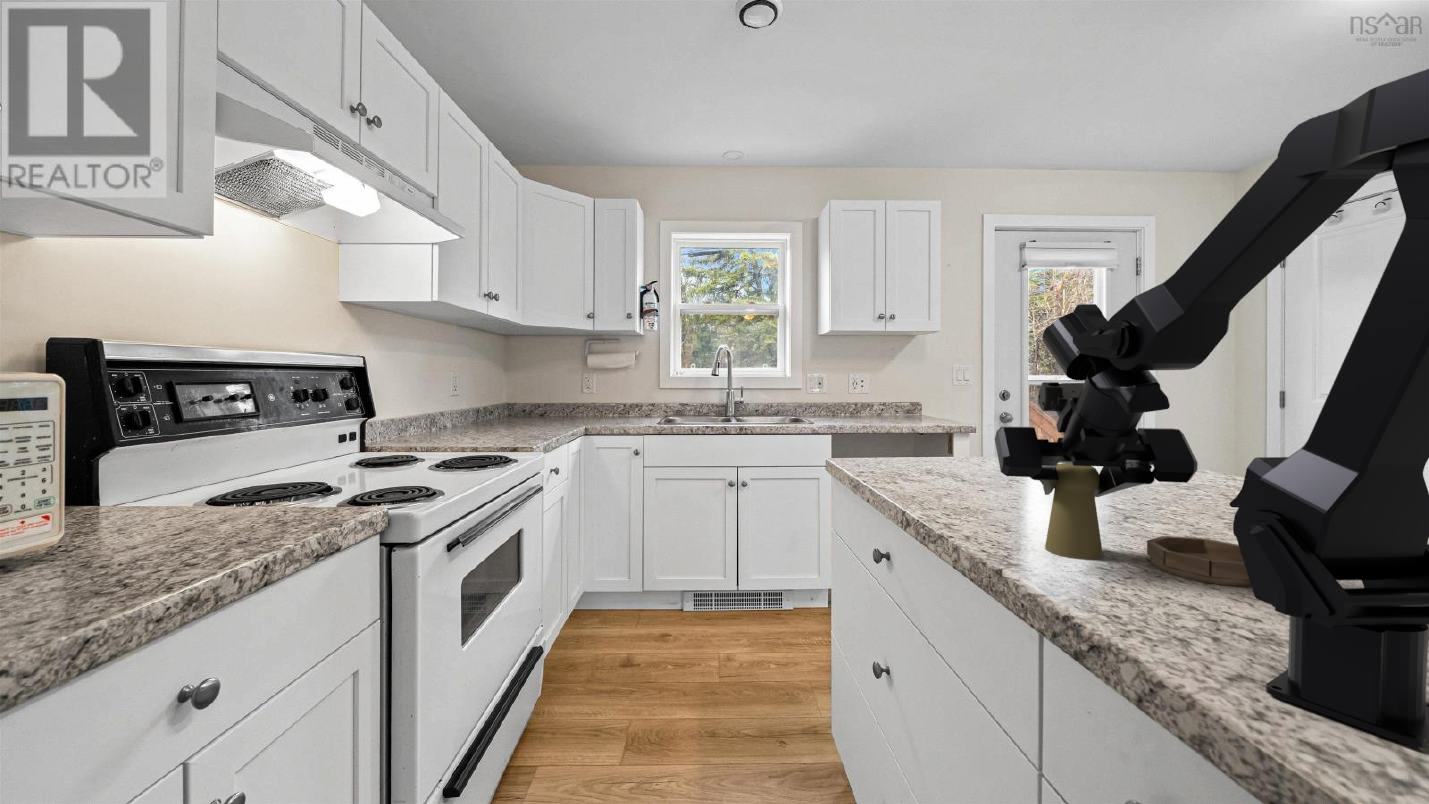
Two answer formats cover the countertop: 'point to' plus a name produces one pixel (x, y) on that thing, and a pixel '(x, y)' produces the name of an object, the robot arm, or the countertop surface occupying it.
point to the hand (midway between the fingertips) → (1070, 492)
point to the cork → (1075, 514)
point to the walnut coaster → (1199, 560)
